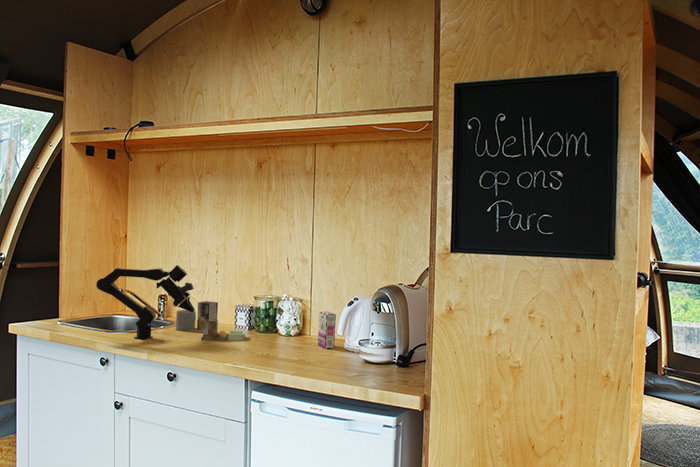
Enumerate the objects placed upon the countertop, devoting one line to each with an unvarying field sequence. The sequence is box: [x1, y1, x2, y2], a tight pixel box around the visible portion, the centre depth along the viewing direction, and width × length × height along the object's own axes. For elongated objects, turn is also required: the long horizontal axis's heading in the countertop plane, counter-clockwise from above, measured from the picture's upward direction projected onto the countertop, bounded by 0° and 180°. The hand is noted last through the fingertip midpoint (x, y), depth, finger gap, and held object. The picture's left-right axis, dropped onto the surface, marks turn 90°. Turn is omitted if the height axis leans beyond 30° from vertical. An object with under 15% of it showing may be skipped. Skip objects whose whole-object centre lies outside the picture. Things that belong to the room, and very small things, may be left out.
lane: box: [200, 333, 229, 341], centre depth 264 cm, size 13×9×2 cm
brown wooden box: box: [208, 318, 219, 337], centre depth 264 cm, size 4×6×9 cm
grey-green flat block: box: [227, 330, 246, 341], centre depth 266 cm, size 8×9×3 cm
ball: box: [218, 330, 228, 337], centre depth 265 cm, size 4×4×4 cm
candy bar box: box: [317, 311, 337, 350], centre depth 253 cm, size 11×5×16 cm, turn 22°
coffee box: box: [196, 300, 219, 334], centre depth 282 cm, size 9×6×16 cm
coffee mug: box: [175, 309, 197, 332], centre depth 290 cm, size 13×10×10 cm
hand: (193, 311), depth 263 cm, fingers open, 4 cm apart
